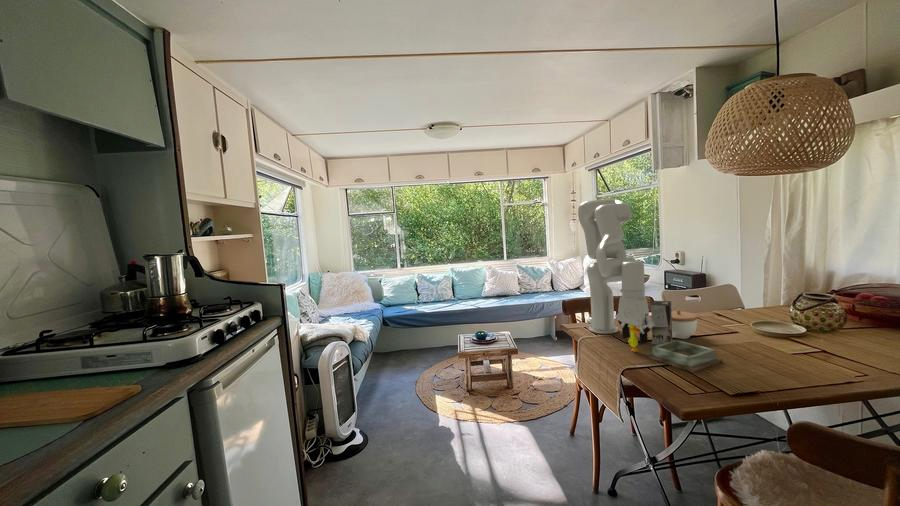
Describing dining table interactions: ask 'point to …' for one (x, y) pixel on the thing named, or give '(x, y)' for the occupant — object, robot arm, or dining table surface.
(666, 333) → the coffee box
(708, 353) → the tray
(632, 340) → the toy figure
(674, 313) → the lidded bowl
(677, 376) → the dining table surface
